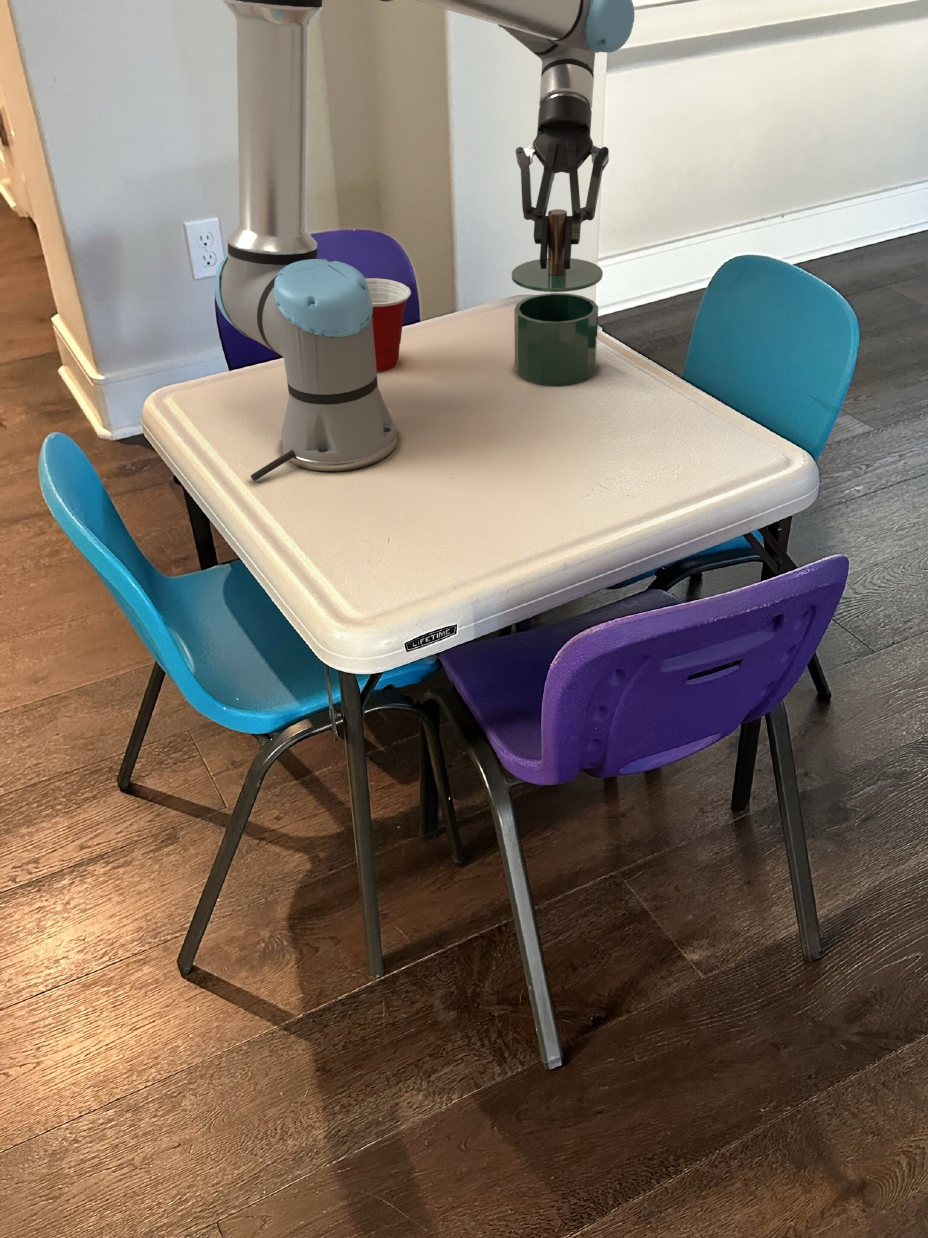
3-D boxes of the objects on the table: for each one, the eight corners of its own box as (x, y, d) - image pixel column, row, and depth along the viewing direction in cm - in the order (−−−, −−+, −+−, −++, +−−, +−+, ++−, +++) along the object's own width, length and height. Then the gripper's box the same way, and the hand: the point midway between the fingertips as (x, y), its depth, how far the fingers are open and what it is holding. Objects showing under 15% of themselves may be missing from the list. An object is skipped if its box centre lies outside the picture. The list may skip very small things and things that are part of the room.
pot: (547, 392, 163) (548, 329, 157) (499, 366, 171) (498, 305, 165) (612, 371, 168) (614, 309, 162) (562, 346, 176) (563, 287, 170)
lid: (548, 303, 154) (548, 232, 149) (493, 278, 163) (492, 210, 157) (621, 281, 160) (624, 212, 154) (564, 258, 169) (565, 192, 163)
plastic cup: (413, 378, 168) (408, 300, 161) (341, 380, 169) (333, 302, 162) (417, 349, 177) (412, 274, 170) (349, 351, 178) (341, 276, 171)
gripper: (620, 123, 162) (611, 277, 159) (512, 124, 164) (501, 275, 161) (621, 91, 155) (611, 251, 151) (508, 92, 157) (496, 250, 154)
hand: (554, 263), depth 156 cm, fingers closed on lid, 3 cm apart
